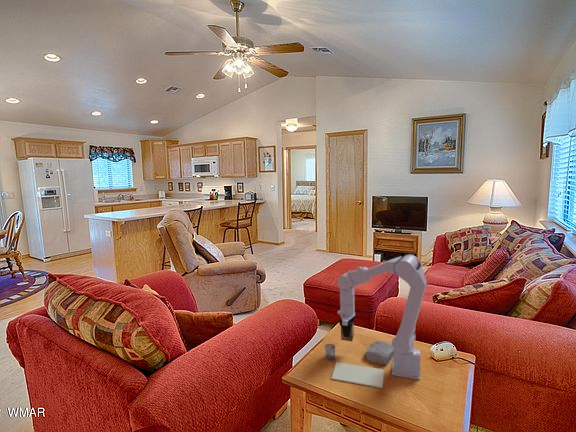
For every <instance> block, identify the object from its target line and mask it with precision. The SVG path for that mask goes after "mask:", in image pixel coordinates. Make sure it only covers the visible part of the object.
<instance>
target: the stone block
mask: <svg viewBox="0 0 576 432" xmlns="http://www.w3.org/2000/svg"><path fill="white" fill-rule="evenodd" d="M372 342H373V343H371V344H370V345H369V346H368V347H367V349H366V351H365V357H366V359H367V360H369V361H370V362H374V363H377V364H381V365H384V366H387V365H388V364H389V362H390V361H391V360H392V358H394V348H393V346H392V343H389V342H387V341H382V340H378V341H377V340H375V341H372Z"/></svg>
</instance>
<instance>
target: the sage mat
mask: <svg viewBox="0 0 576 432" xmlns="http://www.w3.org/2000/svg"><path fill="white" fill-rule="evenodd" d="M384 374H385V370H384V369H382V368H375V367H370V366H369V367H368V366H364V365H357V364H350V363H346V362H345V363H344V362H338V361H336V362H335V364H334V368H333V371H332V375H331V378H330V379H331V380H334V381H338V382H344V383H349V384H350V383H351V384H355V385H360V386H361V385H362V386H365V387H366V386H367V387H373V388H377V389H383V388H384Z"/></svg>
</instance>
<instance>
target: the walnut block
mask: <svg viewBox="0 0 576 432" xmlns="http://www.w3.org/2000/svg"><path fill="white" fill-rule="evenodd" d="M354 323H355V322H354ZM354 323H353V325H352V327H351V332H350V337H349V338H348V337H344V334H343V330H342V328H341V327H340V339H341V341H346V342H353V340H354V337H355V336H354V335H355V334H354V333H355V332H354V331H355V329H354Z"/></svg>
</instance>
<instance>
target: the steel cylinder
mask: <svg viewBox="0 0 576 432" xmlns="http://www.w3.org/2000/svg"><path fill="white" fill-rule="evenodd" d="M324 354H325V355H324V356H325V360H327V361H331V362H332V361H334V360H336V346H335V344H334V343H326V344H325V345H324Z"/></svg>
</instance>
